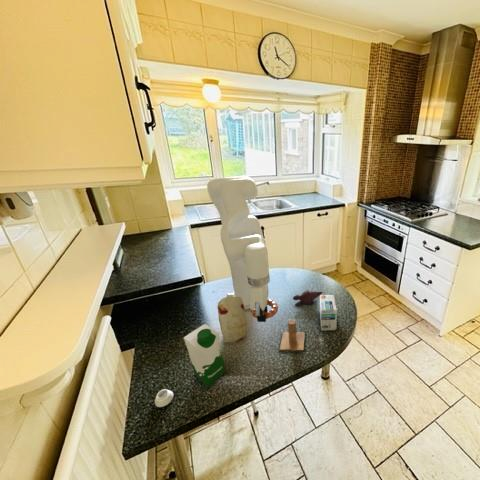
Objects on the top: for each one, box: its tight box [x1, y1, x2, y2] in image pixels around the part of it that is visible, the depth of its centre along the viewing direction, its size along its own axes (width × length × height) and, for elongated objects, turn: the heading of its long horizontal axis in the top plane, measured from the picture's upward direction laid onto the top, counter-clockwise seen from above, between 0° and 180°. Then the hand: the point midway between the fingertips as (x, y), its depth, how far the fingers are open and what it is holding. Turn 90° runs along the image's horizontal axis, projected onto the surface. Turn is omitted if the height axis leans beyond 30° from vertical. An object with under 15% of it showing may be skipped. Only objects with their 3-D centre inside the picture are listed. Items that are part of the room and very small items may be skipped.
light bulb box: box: [319, 294, 338, 332], centre depth 110 cm, size 11×7×11 cm, turn 4°
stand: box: [279, 318, 306, 351], centre depth 99 cm, size 9×9×11 cm
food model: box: [216, 296, 248, 343], centre depth 99 cm, size 10×7×20 cm
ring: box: [250, 298, 279, 320], centre depth 101 cm, size 10×10×2 cm
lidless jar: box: [154, 388, 174, 408], centre depth 79 cm, size 5×3×5 cm
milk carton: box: [183, 323, 226, 388], centre depth 84 cm, size 9×9×20 cm
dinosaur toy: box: [292, 289, 324, 307], centre depth 122 cm, size 7×7×15 cm
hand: (262, 317), depth 98 cm, fingers closed on ring, 2 cm apart
